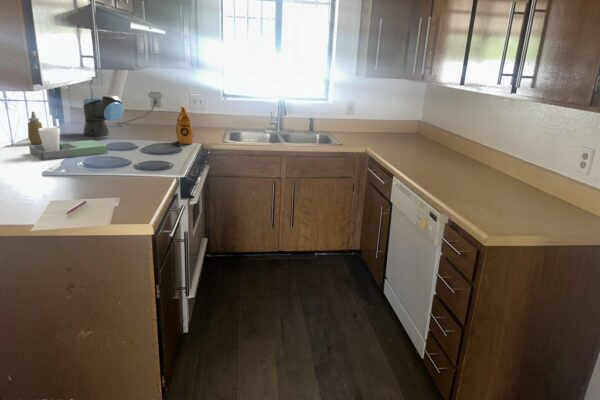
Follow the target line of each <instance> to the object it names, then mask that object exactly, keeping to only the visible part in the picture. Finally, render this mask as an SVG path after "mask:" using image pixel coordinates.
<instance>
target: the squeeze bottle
mask: <svg viewBox="0 0 600 400" xmlns="http://www.w3.org/2000/svg"><path fill="white" fill-rule="evenodd" d="M30 116H31V117H30V118H28V121H29V122H28V123H27V133H28V134H27V135H28V136H27V137H28V140H29V142H30V144H31V145H42V141H41V138H40V134H39V131H38V129H40V128H43V125H42V122H41V121H40V119H39V118H38V117H37V116H36V113H35V111H31V115H30Z"/></svg>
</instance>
